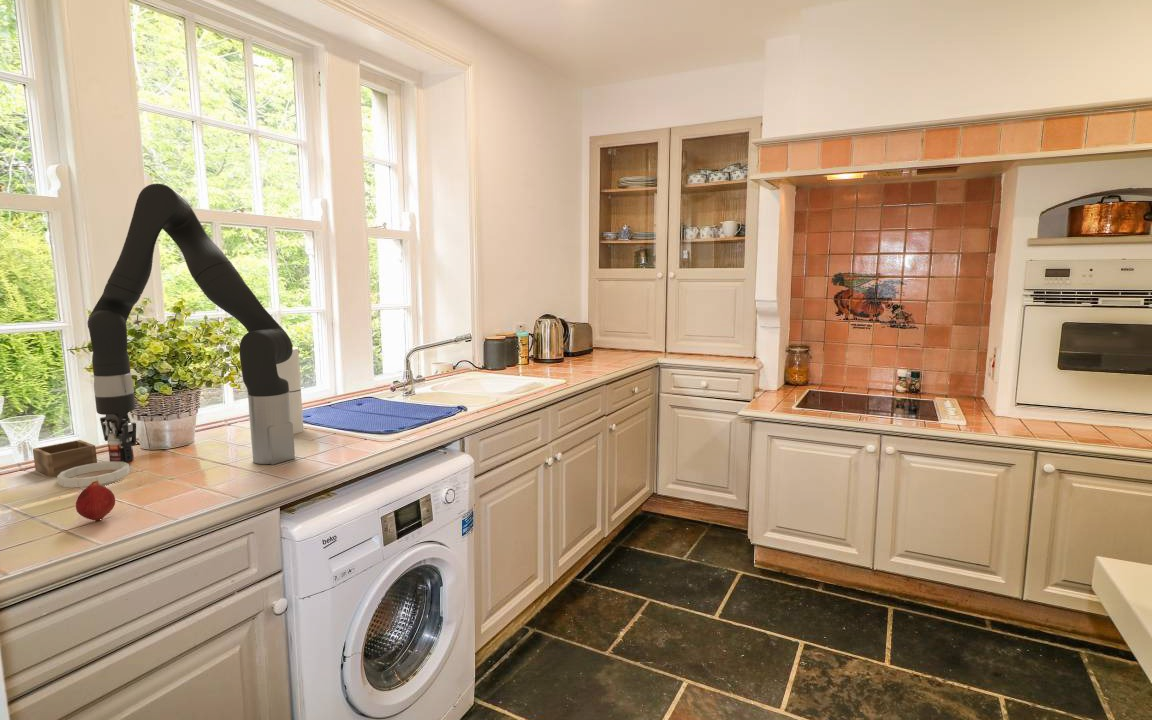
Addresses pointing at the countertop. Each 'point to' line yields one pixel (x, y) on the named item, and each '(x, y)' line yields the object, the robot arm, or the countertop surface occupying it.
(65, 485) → the white ring
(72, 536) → the countertop surface
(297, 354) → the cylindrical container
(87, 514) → the onion
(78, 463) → the walnut crate
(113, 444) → the pill bottle
